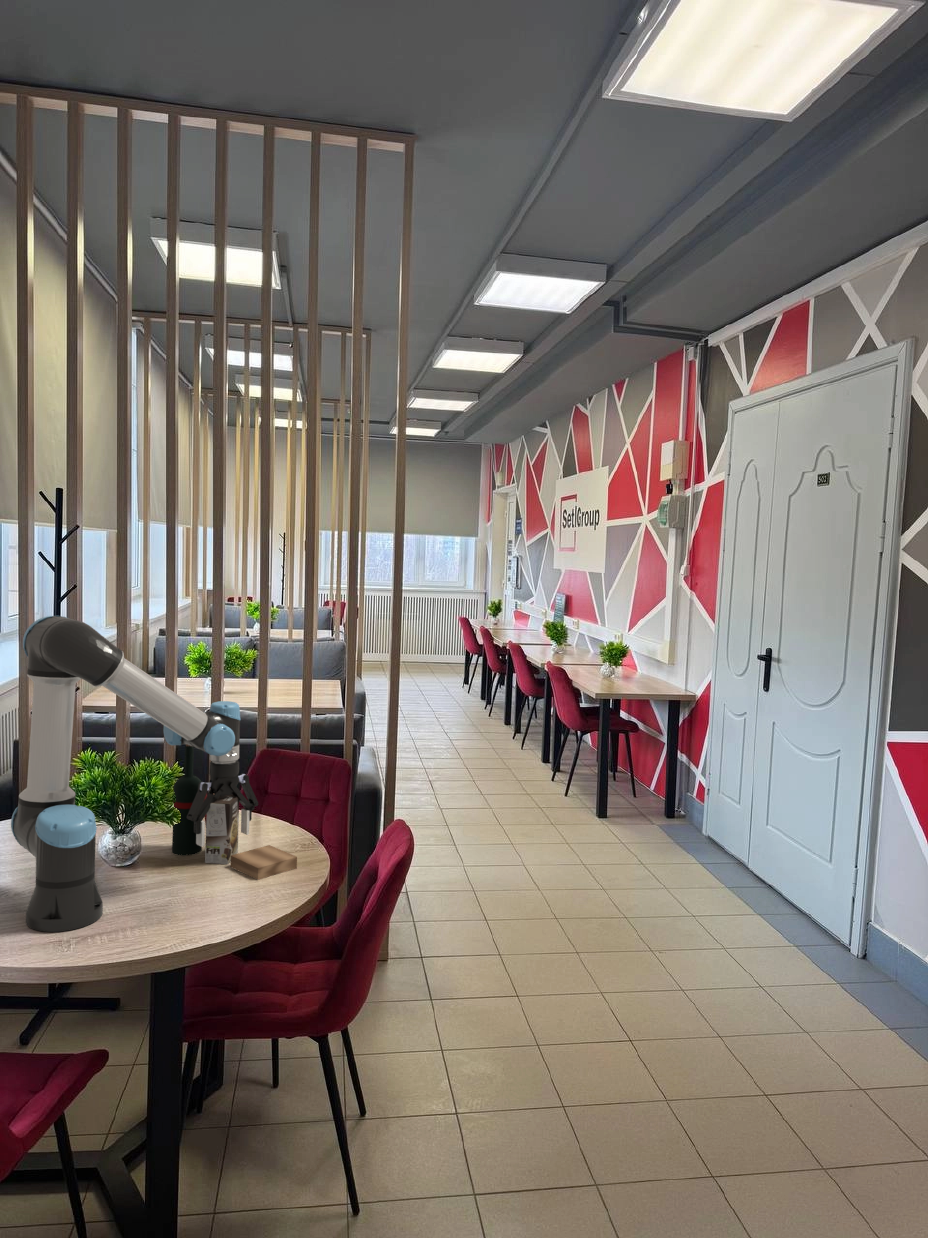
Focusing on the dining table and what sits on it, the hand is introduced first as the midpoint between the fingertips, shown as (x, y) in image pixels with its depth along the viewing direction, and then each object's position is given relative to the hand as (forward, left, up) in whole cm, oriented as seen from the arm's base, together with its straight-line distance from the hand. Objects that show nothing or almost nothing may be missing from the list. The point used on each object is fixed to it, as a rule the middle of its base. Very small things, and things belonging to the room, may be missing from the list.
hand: (223, 839), depth 222 cm
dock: (+4, -13, -5) cm, 14 cm away
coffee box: (0, 0, -5) cm, 5 cm away
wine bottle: (-3, +10, -5) cm, 12 cm away
